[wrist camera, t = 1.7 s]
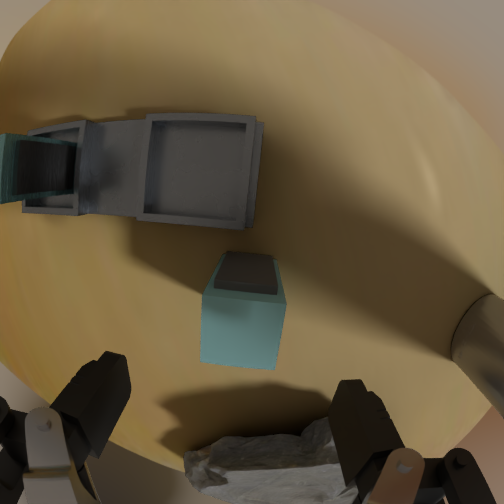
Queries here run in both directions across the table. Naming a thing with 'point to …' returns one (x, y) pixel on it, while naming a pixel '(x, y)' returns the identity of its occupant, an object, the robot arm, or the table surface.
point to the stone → (271, 469)
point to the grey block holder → (139, 169)
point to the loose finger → (243, 312)
